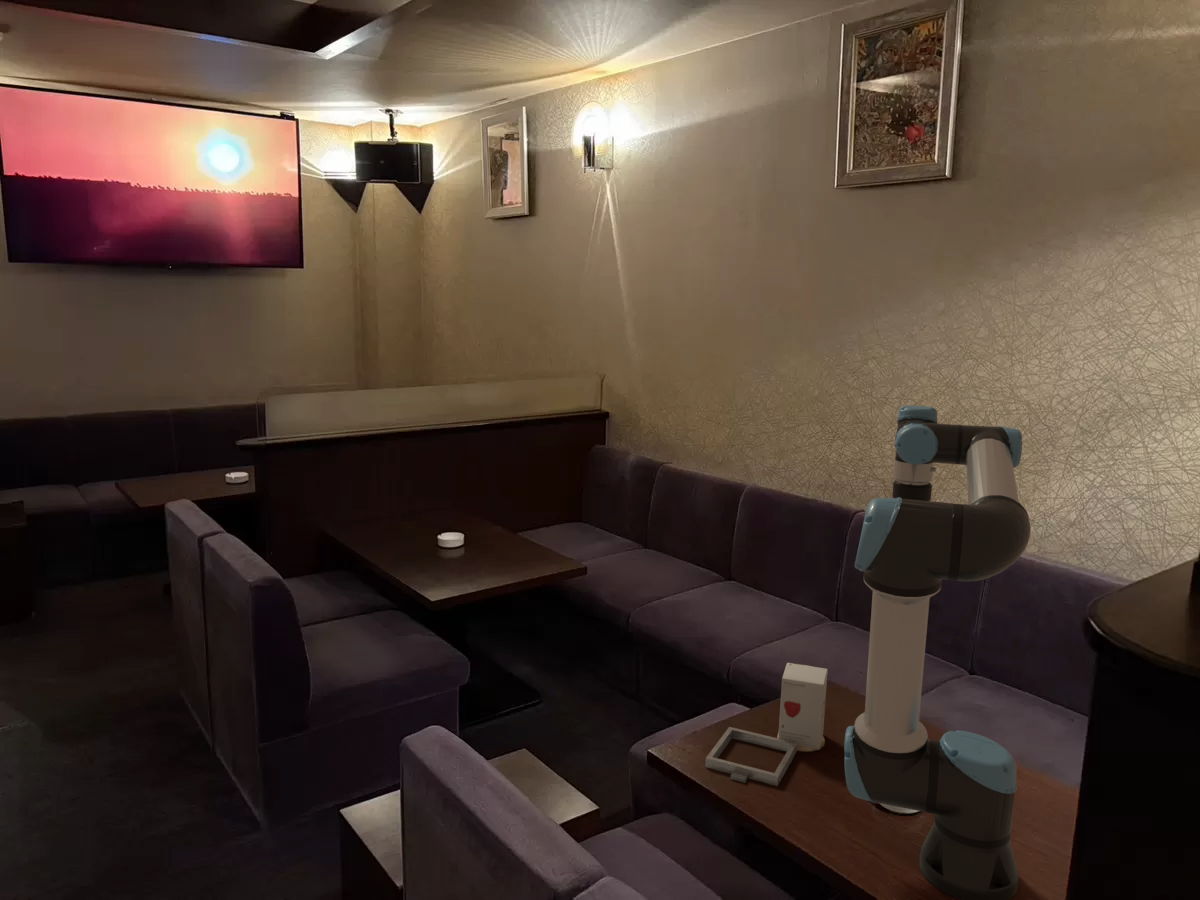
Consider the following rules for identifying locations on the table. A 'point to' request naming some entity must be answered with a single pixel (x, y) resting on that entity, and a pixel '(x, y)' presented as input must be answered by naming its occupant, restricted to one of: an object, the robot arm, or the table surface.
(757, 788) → the table surface
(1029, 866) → the table surface
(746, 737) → the grey frame with tab
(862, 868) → the table surface
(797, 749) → the coaster
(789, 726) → the supplement box
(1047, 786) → the table surface
